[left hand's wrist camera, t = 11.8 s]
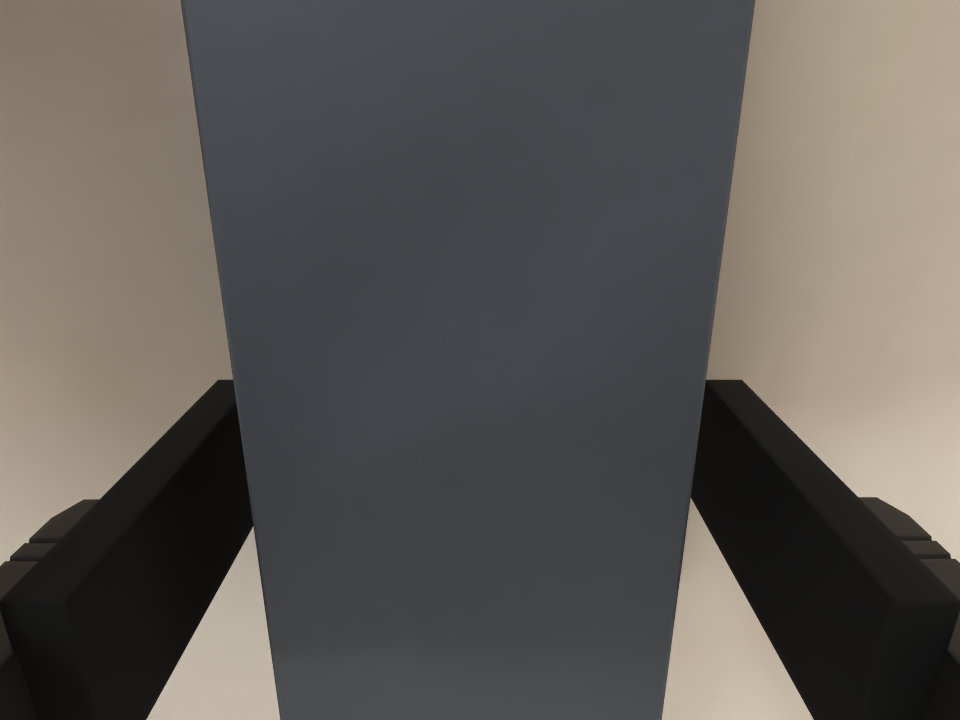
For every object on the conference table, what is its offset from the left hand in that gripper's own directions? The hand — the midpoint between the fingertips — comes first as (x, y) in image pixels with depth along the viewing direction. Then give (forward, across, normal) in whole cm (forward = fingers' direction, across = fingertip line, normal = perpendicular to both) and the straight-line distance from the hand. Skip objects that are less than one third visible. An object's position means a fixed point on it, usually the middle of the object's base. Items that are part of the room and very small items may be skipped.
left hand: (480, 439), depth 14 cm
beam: (+3, 0, -27) cm, 27 cm away
